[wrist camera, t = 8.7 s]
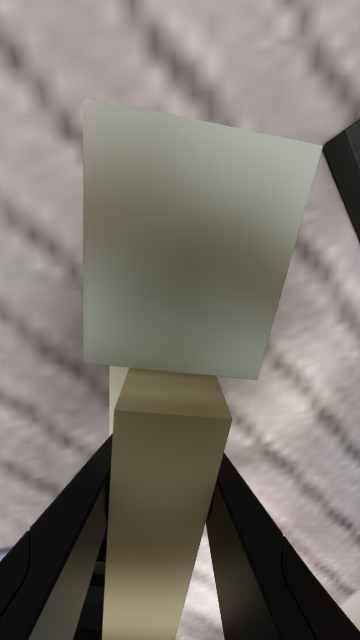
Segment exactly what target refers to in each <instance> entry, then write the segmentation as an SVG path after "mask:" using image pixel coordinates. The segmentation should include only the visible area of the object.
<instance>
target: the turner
mask: <svg viewBox="0 0 360 640" xmlns="http://www.w3.org/2000/svg"><path fill="white" fill-rule="evenodd" d="M322 147H323V145H318V144H313V143H308V142H303V141H298V140H293V139H288V138H283V137H278V136H274V135H269V134H264V133H259V132H254V131H249V130H244V129H239V128H234V127H229V126H224V125H220V124H215V123H210V122H205V121H200V120H195V119H190V118H185V117H180V116H175V115H170V114H166V113H161V112H156V111H151V110H146V109H141V108H136V107H131V106H126V105H121V104H116V103H111V102H107V101H102V100H97V99H92V98H87V97H83V363H86V364H96V365H107V366H117V367H128V368H129V370H128V372H127V375H126V378H125V381H124V383H123V386H122V389H121V392H120V395H119V397H118V400H117V403H116V406H115V409H114V420H113V439H112V457H111V476H110V495H109V514H108V533H107V552H106V571H105V590H104V609H103V628H102V640H175V638H176V634H177V630H178V626H179V622H180V619H181V615H182V611H183V607H184V603H185V599H186V595H187V592H188V588H189V584H190V580H191V576H192V572H193V569H194V565H195V561H196V557H197V553H198V549H199V545H200V542H201V538H202V534H203V530H204V526H205V522H206V518H207V515H208V511H209V507H210V503H211V499H212V495H213V492H214V488H215V484H216V480H217V476H218V472H219V468H220V465H221V461H222V457H223V453H224V449H225V445H226V442H227V438H228V434H229V430H230V426H231V422H232V417H231V414H230V412H229V409H228V406H227V404H226V401H225V399H224V396H223V393H222V391H221V388H220V386H219V383H218V380H217V378H216V376H223V377H234V378H244V379H255V380H257V377H258V373H259V370H260V366H261V363H262V359H263V356H264V352H265V349H266V345H267V342H268V338H269V335H270V331H271V327H272V324H273V320H274V317H275V313H276V310H277V306H278V303H279V299H280V296H281V292H282V289H283V285H284V282H285V278H286V274H287V271H288V267H289V264H290V260H291V257H292V253H293V250H294V246H295V243H296V239H297V236H298V232H299V229H300V225H301V221H302V218H303V214H304V211H305V207H306V204H307V200H308V197H309V193H310V190H311V186H312V183H313V179H314V176H315V172H316V168H317V165H318V161H319V158H320V154H321V151H322Z"/></svg>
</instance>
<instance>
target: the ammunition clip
mask: <svg viewBox="0 0 360 640" xmlns="http://www.w3.org/2000/svg"><path fill="white" fill-rule="evenodd" d="M323 148H324V151H325V153H326V156H327V158H328V161H329V163H330V166H331V168H332V171H333V173H334V176H335V178H336V181H337V183H338V186H339V188H340V191H341V193H342V196H343V198H344V201H345V203H346V206H347V208H348V211H349V213H350V216H351V218H352V221H353V223H354V226H355V228H356V231H357V233H358V235H359V238H360V119H359V120H358V121H356V122H355V123H354V124H352V125H351V126H349V127H348V128H346V129H345V130H343V131H342V132H341V133H339V134H338V135H337V136H335V137H334V138H332V139H331V140H330V141H328V142H327V143H326V144H325V145H324V147H323Z"/></svg>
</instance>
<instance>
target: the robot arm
mask: <svg viewBox="0 0 360 640" xmlns="http://www.w3.org/2000/svg"><path fill="white" fill-rule="evenodd" d="M112 439H113V433H112V434H111V435H110V437H109V438H108V439H107V440H106V441H105V442H104V444H103V445H102V446H101V447H100V448H99V449H98V450H97V452H96V453H95V454H94V455H93V456H92V457H91V458H90V460H89V461H88V462H87V463H86V464H85V465H84V466H83V468H82V469H81V470H80V471H79V472H78V473H77V475H76V476H75V477H74V478H73V479H72V480H71V481H70V483H69V484H68V485H67V486H66V487H65V488H64V489H63V491H62V492H61V493H60V494H59V495H58V496H57V497H56V499H55V500H54V501H53V502H52V503H51V504H50V505H49V507H48V508H47V509H46V510H45V511H44V512H43V514H42V515H41V516H40V517H39V518H38V519H37V520H36V522H35V523H34V524H33V525H32V526H31V527H30V530H29V531H27V532H26V533H25V534H24V535H23V536H22V537H21V539H20V540H19V541H18V542H17V543H16V544H15V546H14V547H13V548H12V549H11V550H10V551H9V552H8V553H7V554H6V556H5V557H4V558H3V559H2V560H1V561H0V640H102V628H103V609H104V590H105V571H106V552H107V533H108V514H109V495H110V476H111V457H112ZM206 528H207V534H208V540H209V546H210V552H211V559H212V565H213V571H214V577H215V583H216V589H217V595H218V602H219V608H220V614H221V620H222V626H223V632H224V638H225V640H360V631H359V630H358V629H357V628H356V626H355V625H354V624H353V623H352V622H351V621H350V619H349V618H348V617H347V615H345V613H344V612H343V611H342V609H341V608H340V607H339V606H338V605H337V603H336V602H335V601H334V600H333V598H332V597H331V596H330V595H329V593H328V592H327V591H326V590H325V588H324V587H323V586H322V585H321V584H320V582H319V581H318V580H317V579H316V577H315V576H314V575H313V574H312V572H311V571H310V570H309V568H308V567H307V566H306V564H305V563H304V562H303V560H302V559H301V558H300V556H299V555H298V554H297V552H296V551H295V550H294V548H293V547H292V545H291V544H290V543H289V541H288V540H287V538H286V537H285V536H283V533H282V532H281V530H280V529H279V528H278V526H277V525H276V523H275V522H274V521H273V519H272V518H271V517H270V515H269V514H268V512H267V511H266V510H265V508H264V507H263V506H262V504H261V503H260V501H259V500H258V499H257V497H256V496H255V494H254V493H253V492H252V490H251V489H250V488H249V486H248V485H247V483H246V482H245V481H244V479H243V478H242V477H241V475H240V474H239V472H238V471H237V470H236V468H235V467H234V466H233V464H232V463H231V461H230V460H229V459H228V457H227V456H226V454H225V453H223V457H222V461H221V465H220V468H219V472H218V476H217V480H216V484H215V488H214V492H213V495H212V499H211V503H210V507H209V511H208V515H207V518H206Z"/></svg>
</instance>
